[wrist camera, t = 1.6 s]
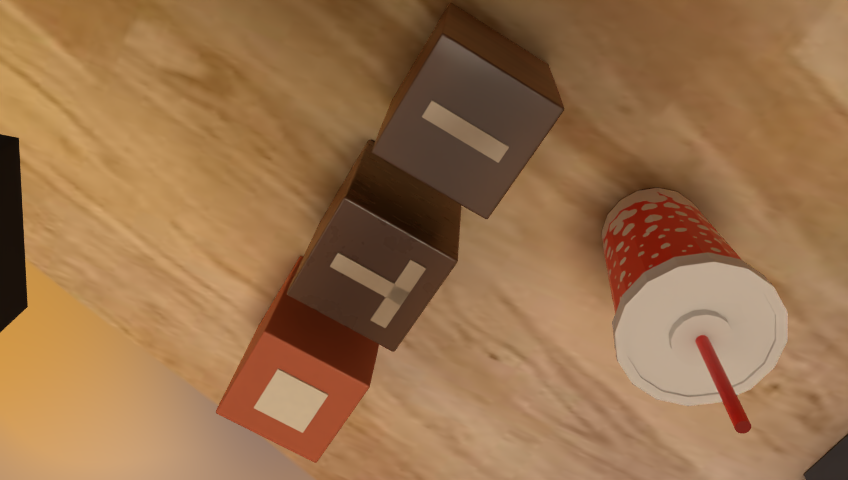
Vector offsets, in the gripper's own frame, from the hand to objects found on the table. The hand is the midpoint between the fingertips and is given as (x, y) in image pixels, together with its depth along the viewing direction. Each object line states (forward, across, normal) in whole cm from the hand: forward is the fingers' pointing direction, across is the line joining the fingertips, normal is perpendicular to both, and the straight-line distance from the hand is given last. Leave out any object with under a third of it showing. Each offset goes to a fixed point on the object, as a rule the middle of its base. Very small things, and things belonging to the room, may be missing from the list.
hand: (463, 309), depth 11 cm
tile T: (+24, -2, -9) cm, 25 cm away
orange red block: (+24, -5, -16) cm, 29 cm away
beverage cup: (+24, +10, -8) cm, 27 cm away
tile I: (+24, 0, -2) cm, 24 cm away
